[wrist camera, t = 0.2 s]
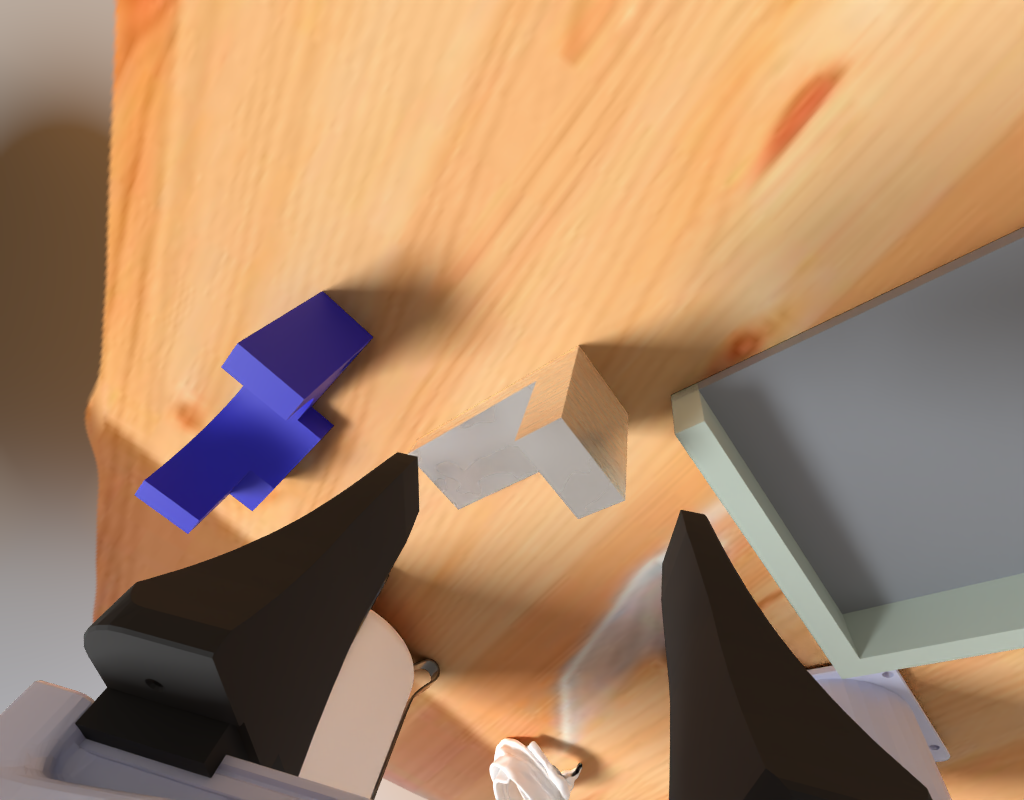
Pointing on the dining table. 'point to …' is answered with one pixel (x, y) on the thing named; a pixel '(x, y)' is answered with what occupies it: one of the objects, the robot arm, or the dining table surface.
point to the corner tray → (885, 466)
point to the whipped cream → (528, 774)
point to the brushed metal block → (536, 439)
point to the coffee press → (365, 710)
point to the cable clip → (260, 414)
